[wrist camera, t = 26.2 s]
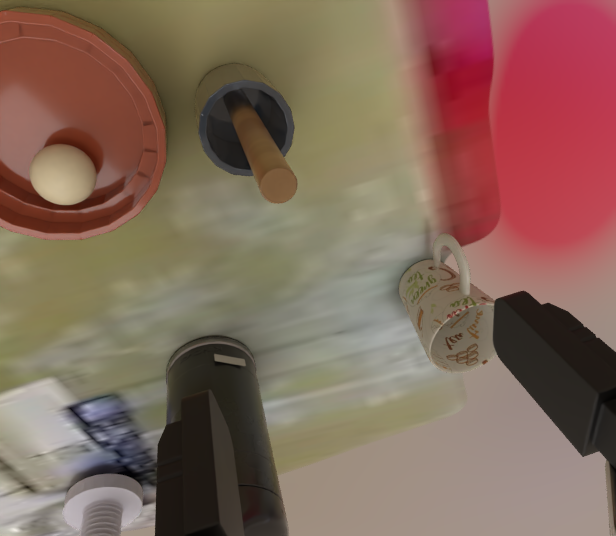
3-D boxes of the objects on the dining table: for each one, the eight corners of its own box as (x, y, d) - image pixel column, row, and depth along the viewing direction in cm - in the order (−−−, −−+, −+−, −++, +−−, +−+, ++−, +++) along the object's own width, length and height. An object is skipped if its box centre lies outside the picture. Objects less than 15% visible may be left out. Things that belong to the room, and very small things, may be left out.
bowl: (192, 188, 40) (194, 208, 37) (11, 237, 39) (-5, 263, 35) (119, -16, 32) (113, -15, 28) (-116, 37, 30) (-153, 46, 27)
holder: (283, 135, 40) (301, 162, 34) (209, 155, 39) (215, 186, 33) (265, 54, 36) (282, 69, 30) (183, 74, 35) (185, 94, 30)
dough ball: (77, 165, 32) (34, 210, 32) (119, 183, 36) (80, 222, 36) (45, 122, 33) (4, 165, 33) (90, 144, 37) (52, 182, 38)
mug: (389, 320, 54) (429, 383, 45) (384, 224, 47) (429, 278, 39) (456, 302, 55) (507, 360, 46) (461, 205, 48) (521, 253, 40)
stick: (251, 105, 37) (304, 192, 23) (231, 116, 37) (270, 210, 23) (240, 84, 36) (287, 160, 21) (220, 95, 36) (252, 179, 22)
